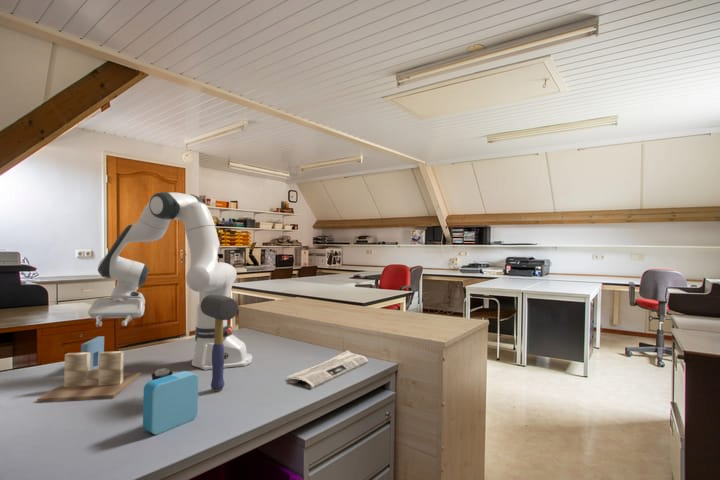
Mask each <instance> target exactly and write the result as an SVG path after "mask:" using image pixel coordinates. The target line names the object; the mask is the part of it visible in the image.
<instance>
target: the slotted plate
mask: <svg viewBox="0 0 720 480" xmlns="http://www.w3.org/2000/svg"><path fill="white" fill-rule="evenodd" d="M84 352H91V354H90V369H94V367H97V366H98V367H99V354H100V353H101V352H105V336H104V335H103V336H96V337H94V338H92V339H90V340H88V341H85V342H84V343H81V345H80V353H84Z"/></svg>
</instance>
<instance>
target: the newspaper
mask: <svg viewBox="0 0 720 480" xmlns="http://www.w3.org/2000/svg"><path fill="white" fill-rule="evenodd" d="M368 363H369V360H368V358H367V357H366V356H364V355H361V354H357V353H353V352H351V351H350V350H349V349H348V350H346V351H344V352H342V353H340V354H338V355H336V356H334V357H332V358H329V359H328V360H326V361H324V362H321V363H320V364H317V365H314V366H312V367H308V368H306V369H303V370H299V371H298V372H296V373H293V374H292V373H291V374H290V375H287V376H286V377H287V378H289V379H288V383H289V384H297V383H298V381H299V382H301V381H300V380H302V382H304V383H307V384H306V385H305V384H304V387H307V388H309V389H310V390H313V389H316V388H318V387H320V386H323V385H324V384H326V383H328V382H330V381H333V380H335V379H338V378H339V377H341V376H343V375H346V374H347V373H350V372H352V371H354V370H357V369H358V368H361V367H363V366H365V365H367V364H368ZM296 382H297V383H296Z"/></svg>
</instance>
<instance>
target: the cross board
mask: <svg viewBox="0 0 720 480" xmlns="http://www.w3.org/2000/svg"><path fill="white" fill-rule="evenodd" d="M90 354H91V352H84V353H81V352H68V353H65V354H64V370H63V371H64V374H63V375H64V377H63V378H64V379H63V380H64V381H63V383H62V384H60V385H58V386H56V387H55V388H53V389H52V390H50V391H48V392H47V393H45V394H43V395H42V396H40V397H38V398H37V400H36V403H51V402H67V401H68V402H70V401H89V400H105V399H106V400H107V399H115V398H116V397H117V396H118V395H119V394H120V393H122V392H123V391H124V390H126V388H127V387H128V388H129V386H130V385H131V384H132V383H134V381H136V380H137V379H138V378H139V377H141V376H142V372H124V356H125V355H124V354H125V351H124V350H119V351H117V350H116V351H115V350H114V351H112V350H111V351H104V352H101V353H100V354H99V365H98V368H93V369H90Z"/></svg>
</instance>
